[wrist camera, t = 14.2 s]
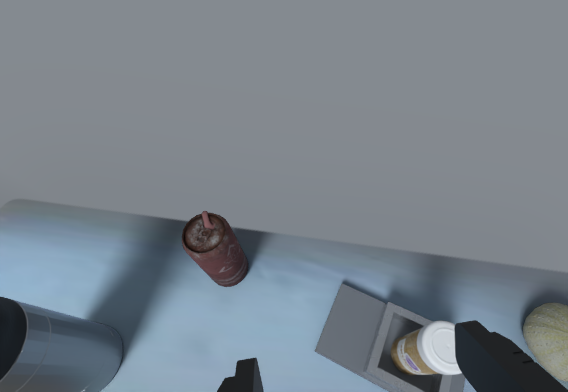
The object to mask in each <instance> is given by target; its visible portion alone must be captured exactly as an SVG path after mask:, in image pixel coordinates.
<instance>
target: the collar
mask: <svg viewBox="0 0 568 392" xmlns="http://www.w3.org/2000/svg"><path fill="white" fill-rule="evenodd" d="M392 318H394V319H396V320H398V321H400V322H402V323H404V324H407V325H409V326H411V327H413V328H415V329H417V330H418V329H422V328H423V327H424V326H425V325H427V324H429V323H432V322H433V321H431V320H428V319H426V318H424V317H422V316H420V315H417V314H415V313H413V312H411V311H409V310H406V309H404V308H402V307H400V306H397V305H395V304H393V303H391V302H389V301H388V302H387V303H386V304H385V305H384V307H383V310H382V313H381V317H380V320H379V323H378V326H377V329H376V332H375V335H374V339H373V342H372V345H371V348H370V351H369V354H368V357H367V361H366V364H365V367H364V370H363V372H364V373H366V374H368V375H369V376H371V377H373V378H375V379H377V380H379V381H381V382H383V383H384V384H386V385H388V386H390V387H392V388H394V389H396V390H398V391H399V392H424V391H422V390H420V389H419V388H417V387H415V386H413V385H411V384H409V383H407V382H405V381H403V380H401V379H399V378H397V377H396V376H394V375H392V374H390V373H388V372H386V371H384V370H382V369H380V368H378V367H377V366H378V363H379V360H380V356H381V353H382V350H383V346H384V343H385V340H386V336H387V333H388V330H389V326H390V323H391V320H392ZM451 379H452V375H444V374H440V373H437V374H434V376H433V381H432V385H431V390H430V392H449V390H450V385H451Z"/></svg>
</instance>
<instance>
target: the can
mask: <svg viewBox="0 0 568 392" xmlns="http://www.w3.org/2000/svg"><path fill="white" fill-rule="evenodd" d="M182 244H183V248H184V249H185V251H186V253H187V254H188V255H189V256H190V257H191V258H192V259H193V260H194V261H195V262H196V263H197V264H198V265H199V266H200V267H201V268H202V269H203V270H204V271H205V272H206V273H207V274H208V275H209V276H210V277H211V278H212V280H213V281H214V282H216V283H217V284H218V285H221V286H224V287H231V286H234V285H236V284H238V283H239V282H241V281H242V280H243V279H244V277H245V276H246V274H247V271H248V261H247V258H246V256H245V254H244V252H243V250H242V248H241V246H240V244H239V243H238V241H237V239H236V237H235V235H234V233H233V231H232V229H231V227H230V225H229V224H228V222H227V221H226V219H224V218H223V217H221V216H220V215H216V214H213V213H208V212H207V211H203V213H202V214H199V215H196V216H195V217H193V218H192V219H191V220H190V221H189V222H188V223H187V224H186V226H185V228H184V229H183V234H182Z"/></svg>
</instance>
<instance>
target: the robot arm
mask: <svg viewBox="0 0 568 392" xmlns="http://www.w3.org/2000/svg"><path fill="white" fill-rule="evenodd" d="M454 330H455V357H456V361H457V364H458V367H459V369H460V370H461V372H462V374H463V375H464V376H465V378H466V379H467V380H468V381H469V383H470V384H471V385H472V386H473V388H474V389H475V390H476V391H477V392H568V390H567V389H566V388H565V387H564V386H563V385H561V384H560V383H559V382H558V381H557V380H556V379H555V378H553V377H552V376H551V375H550V374H549V373H548V372H547V371H545V370H544V369H543V368H542V367H541V366H540V365H539V364H537V363H536V362H534V361H533V359H532V358H531V357H529V356H528V355H527V354H526V353H524V352H523V350H521V349H520V348H519V347H518V346H517V345H516V344H515V343H513V342H512V341H511V340H510V339H508V338H506V337H504V336H502V335H500V334H498V333H496V332H491V333H490V332H489V331H488V330H487V329H486V328H485V327H484V326H483V325H481V324H480V323H479V322H478V321H475V320H474V321H468V322H463V323H457V324H455V328H454ZM122 354H123V345H122V340H121V337H120V335H119V334H118V332H117V331H116V330H114V329H113V328H112V327H109V326H107V325H103V324H101V323H97V322H92V321H89V320H85V319H81V318H78V317H74V316H70V315H66V314H63V313H59V312H55V311H52V310H48V309H44V308H41V307H37V306H33V305H29V304H26V303H22V302H18V301H15V300H11V299H8V298H4V297H0V392H99V391H101V390H102V389H103V388H105V387H106V386H107V384H108V383H109V382H110V381H111V380H112V379H113V377H114V376H115V374H116V372H117V370H118V368H119V366H120V363H121V360H122ZM217 392H264V391H263V386H262V381H261V376H260V372H259V367H258V362H257V359H256V358H251V359H245V360H239V361H237V366H236V373H235V376H234V377H228V378H225V379H224V381H223V382H222V384H221V386H220V387H219V389H218V390H217Z"/></svg>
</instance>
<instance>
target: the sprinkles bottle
mask: <svg viewBox="0 0 568 392" xmlns="http://www.w3.org/2000/svg"><path fill="white" fill-rule="evenodd" d="M454 328H455V324H453V323H450V322H447V321H435V322H432V323H429V324H427V325H425V326H424V327H423V328H422V329H418V330H416V331H413V332H411V333H409V334H407V335H405V336H404V337H400V338H398V339H396V340H395V341H394V342H393V344H392V347H391V357H392V360H393V362H394V364H395V366H396V367H397V369H399V370H400V371H401V372H403V373H405V374H407V375H429V374H437V373H440V374H444V375H456V374H461V373H462V372H461V370H460V369H459V367H458V364H457V361H456V357H455V330H454Z"/></svg>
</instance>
